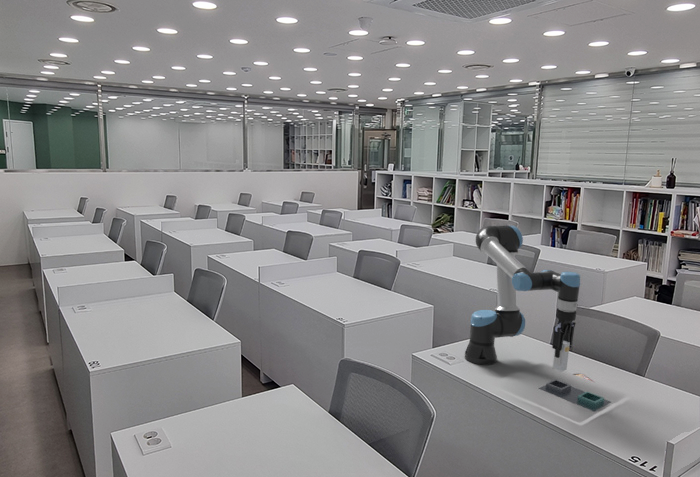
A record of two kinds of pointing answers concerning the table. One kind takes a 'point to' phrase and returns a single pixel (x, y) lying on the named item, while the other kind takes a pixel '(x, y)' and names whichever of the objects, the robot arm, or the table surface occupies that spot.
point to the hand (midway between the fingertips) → (560, 362)
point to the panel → (575, 395)
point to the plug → (563, 357)
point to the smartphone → (583, 376)
